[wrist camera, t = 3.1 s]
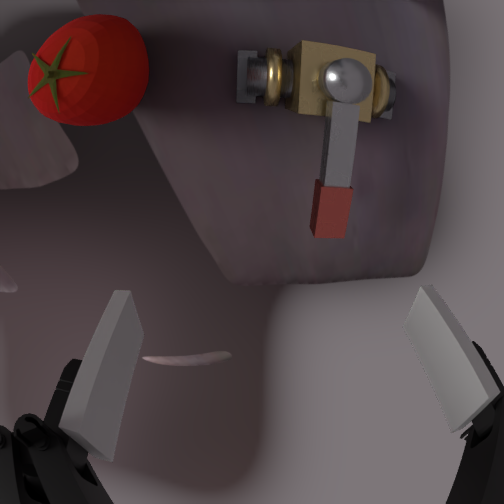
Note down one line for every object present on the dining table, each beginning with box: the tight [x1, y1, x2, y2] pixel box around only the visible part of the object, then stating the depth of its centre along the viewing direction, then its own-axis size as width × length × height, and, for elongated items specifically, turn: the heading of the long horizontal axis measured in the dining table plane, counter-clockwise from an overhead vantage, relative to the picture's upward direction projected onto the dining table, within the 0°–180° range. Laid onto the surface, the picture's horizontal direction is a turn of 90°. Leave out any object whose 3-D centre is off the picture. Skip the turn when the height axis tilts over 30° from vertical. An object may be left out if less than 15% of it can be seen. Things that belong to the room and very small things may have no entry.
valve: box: [236, 40, 396, 123], centre depth 25 cm, size 18×7×8 cm, turn 88°
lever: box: [310, 58, 372, 238], centre depth 23 cm, size 16×4×3 cm, turn 178°
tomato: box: [28, 14, 149, 126], centre depth 20 cm, size 13×11×14 cm
